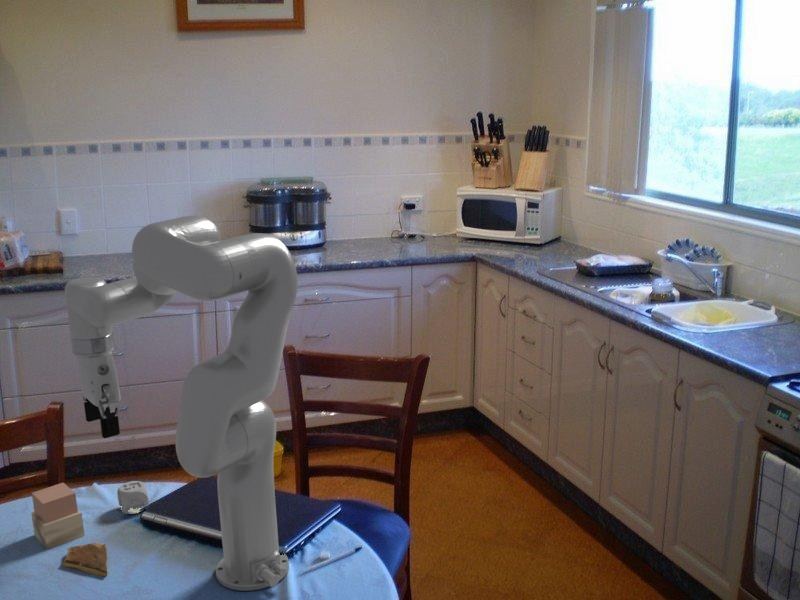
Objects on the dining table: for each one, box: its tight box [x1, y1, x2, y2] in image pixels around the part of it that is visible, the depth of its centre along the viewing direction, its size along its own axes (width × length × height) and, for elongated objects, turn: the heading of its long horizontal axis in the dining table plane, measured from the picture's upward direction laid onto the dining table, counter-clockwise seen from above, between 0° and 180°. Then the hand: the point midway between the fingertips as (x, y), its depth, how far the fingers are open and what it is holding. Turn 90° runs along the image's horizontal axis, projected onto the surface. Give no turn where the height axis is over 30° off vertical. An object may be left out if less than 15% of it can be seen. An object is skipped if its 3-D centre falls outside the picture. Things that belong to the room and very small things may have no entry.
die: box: [116, 480, 150, 515], centre depth 175 cm, size 5×5×5 cm
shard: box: [61, 542, 108, 577], centre depth 156 cm, size 11×8×2 cm
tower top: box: [31, 482, 79, 523], centre depth 165 cm, size 6×6×4 cm
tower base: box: [30, 509, 86, 550], centre depth 166 cm, size 7×7×5 cm
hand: (102, 427), depth 168 cm, fingers open, 9 cm apart
